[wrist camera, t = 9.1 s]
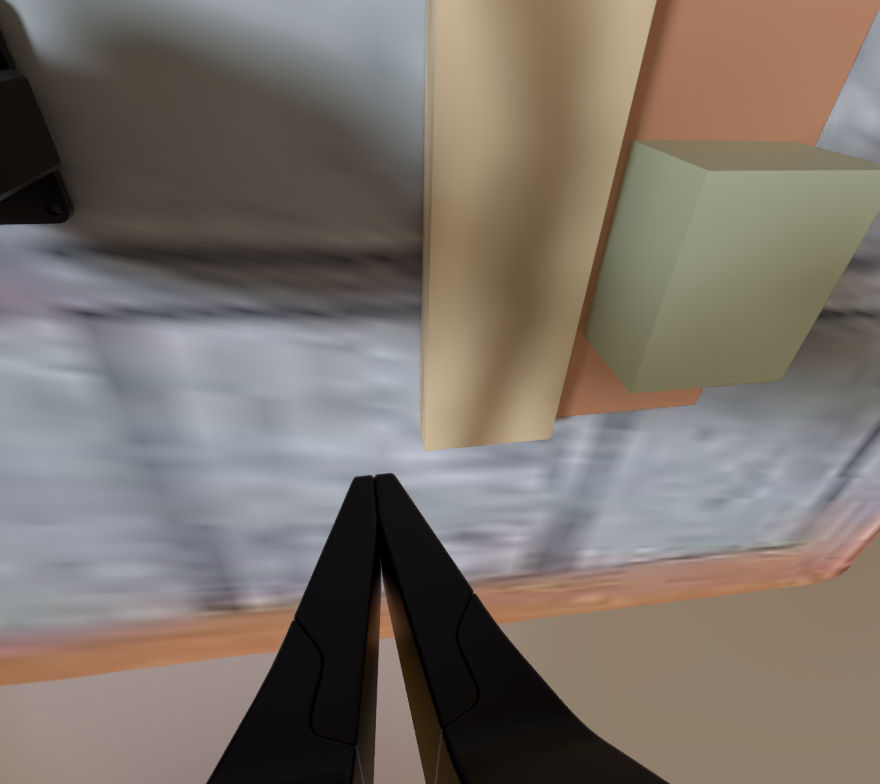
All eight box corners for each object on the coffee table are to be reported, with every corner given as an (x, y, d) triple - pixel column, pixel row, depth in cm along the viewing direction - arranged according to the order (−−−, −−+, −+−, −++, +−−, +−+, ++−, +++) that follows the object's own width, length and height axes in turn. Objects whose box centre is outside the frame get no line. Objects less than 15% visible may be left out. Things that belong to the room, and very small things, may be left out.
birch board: (419, 426, 27) (425, 450, 25) (427, -62, 15) (438, -71, 13) (538, 415, 28) (550, 438, 27) (636, -46, 16) (669, -53, 14)
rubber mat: (544, 414, 28) (546, 418, 28) (647, -45, 16) (652, -46, 16) (692, 401, 30) (695, 404, 30) (887, -27, 18) (895, -27, 17)
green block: (630, 393, 21) (780, 380, 22) (708, 171, 15) (903, 169, 17) (583, 334, 25) (713, 326, 26) (632, 140, 19) (794, 141, 20)
